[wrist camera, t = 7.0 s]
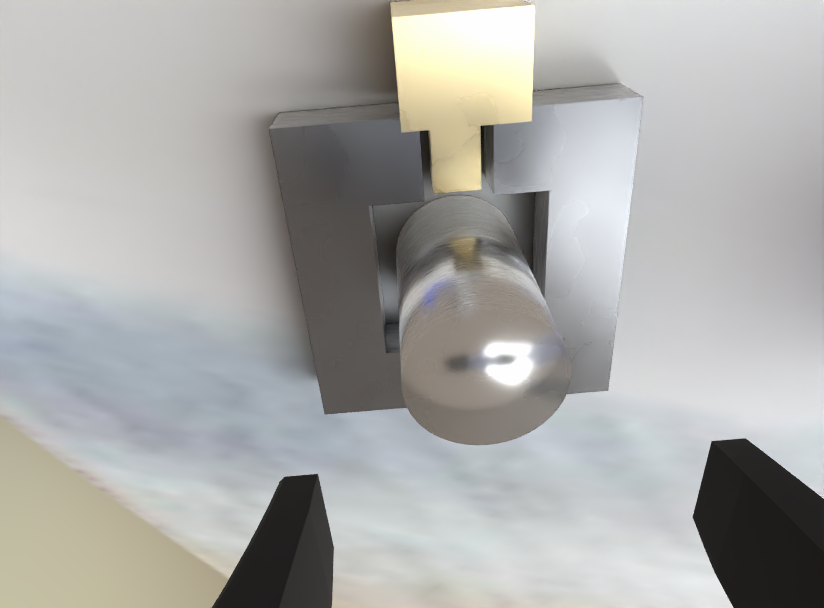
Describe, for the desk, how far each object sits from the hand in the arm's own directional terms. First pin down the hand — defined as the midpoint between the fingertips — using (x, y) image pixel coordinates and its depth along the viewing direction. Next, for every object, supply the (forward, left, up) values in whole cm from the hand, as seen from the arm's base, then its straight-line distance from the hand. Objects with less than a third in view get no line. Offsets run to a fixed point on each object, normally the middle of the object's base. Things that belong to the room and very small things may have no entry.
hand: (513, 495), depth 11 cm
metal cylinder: (0, 0, -10) cm, 10 cm away
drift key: (0, -5, -10) cm, 11 cm away
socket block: (0, 0, -10) cm, 10 cm away
